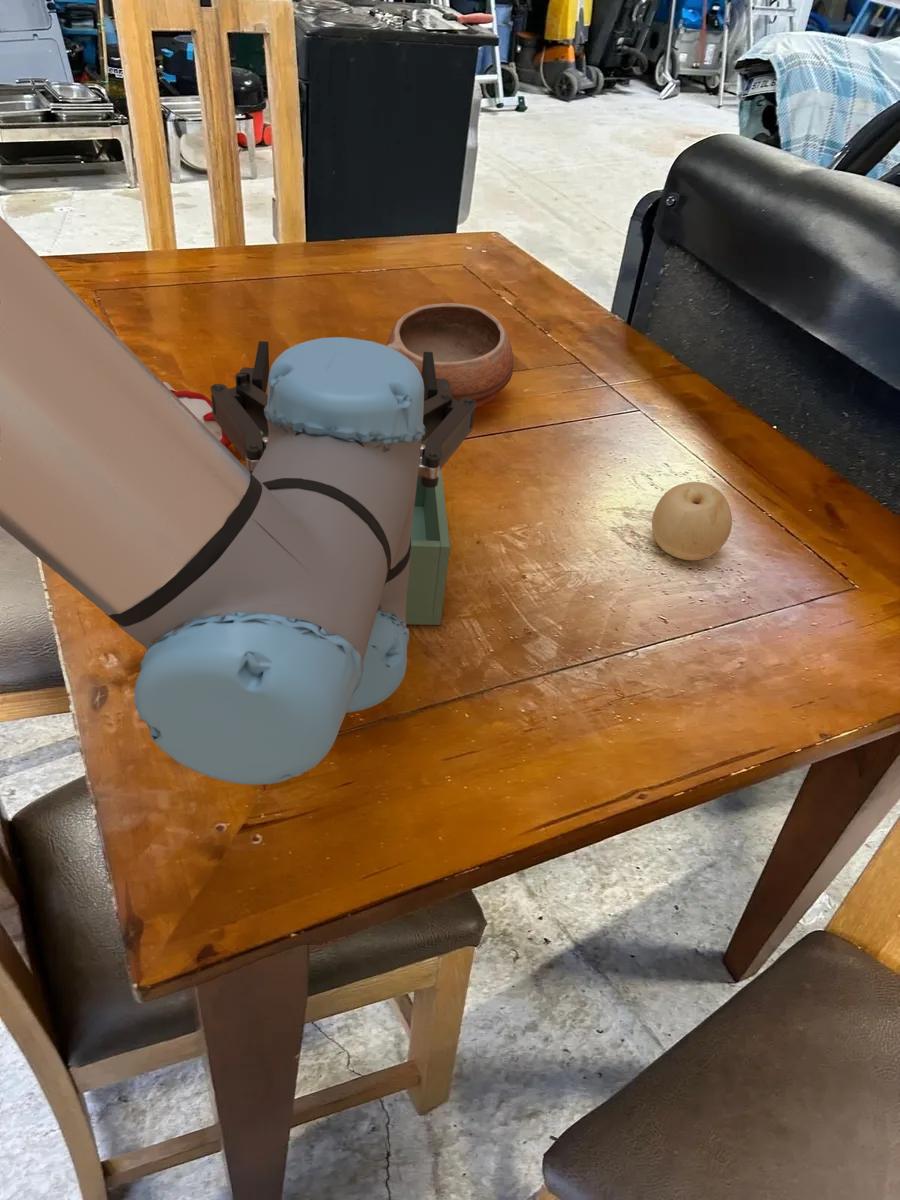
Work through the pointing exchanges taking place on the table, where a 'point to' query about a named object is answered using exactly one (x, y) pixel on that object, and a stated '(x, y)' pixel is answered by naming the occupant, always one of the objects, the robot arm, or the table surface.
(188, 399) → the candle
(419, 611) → the open storage box
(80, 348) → the robot arm
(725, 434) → the table surface
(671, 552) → the apple
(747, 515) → the table surface
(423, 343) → the bowl
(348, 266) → the table surface
